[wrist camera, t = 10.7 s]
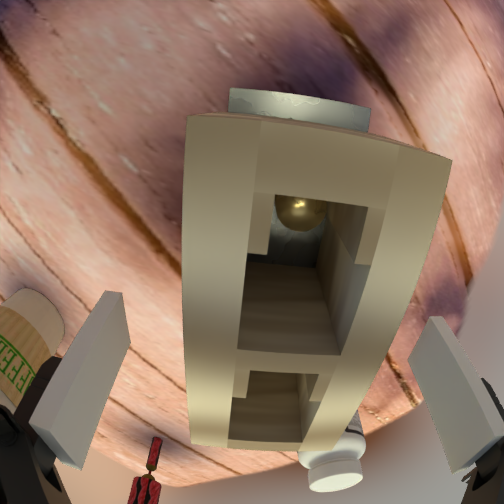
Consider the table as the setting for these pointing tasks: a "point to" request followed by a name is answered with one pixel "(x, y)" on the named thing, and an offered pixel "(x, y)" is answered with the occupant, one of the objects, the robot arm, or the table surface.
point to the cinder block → (295, 274)
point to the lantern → (147, 479)
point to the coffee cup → (25, 342)
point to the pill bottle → (337, 461)
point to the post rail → (301, 111)
